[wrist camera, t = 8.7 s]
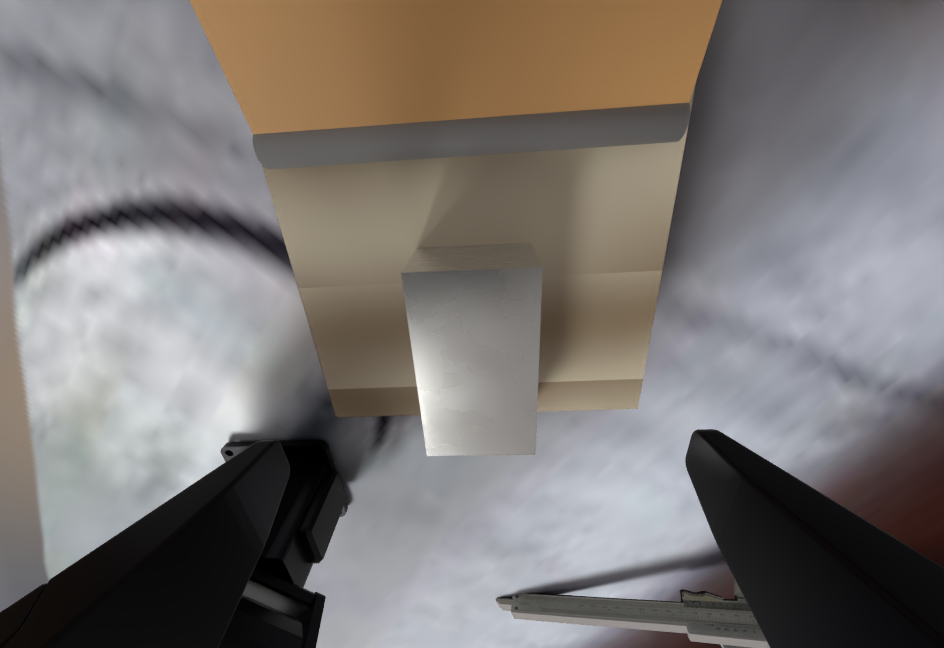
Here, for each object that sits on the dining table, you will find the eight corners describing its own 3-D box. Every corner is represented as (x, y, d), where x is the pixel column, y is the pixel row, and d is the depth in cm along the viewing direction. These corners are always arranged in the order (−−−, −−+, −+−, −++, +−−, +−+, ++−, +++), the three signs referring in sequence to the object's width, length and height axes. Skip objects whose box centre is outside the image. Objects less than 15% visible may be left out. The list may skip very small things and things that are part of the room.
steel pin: (446, 349, 18) (427, 455, 12) (434, 220, 16) (400, 272, 9) (517, 347, 18) (535, 454, 12) (518, 216, 15) (542, 266, 9)
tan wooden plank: (666, 133, 10) (680, 148, 9) (279, 160, 11) (266, 175, 10) (794, -295, 6) (841, -330, 5) (115, -209, 6) (70, -227, 5)
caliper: (766, 551, 26) (844, 664, 20) (765, 560, 27) (842, 672, 21) (495, 594, 30) (498, 700, 24) (499, 601, 30) (503, 707, 24)
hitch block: (600, 344, 19) (637, 408, 14) (370, 353, 19) (336, 417, 15) (648, -95, 11) (755, -248, 7) (281, -58, 12) (162, -175, 8)
